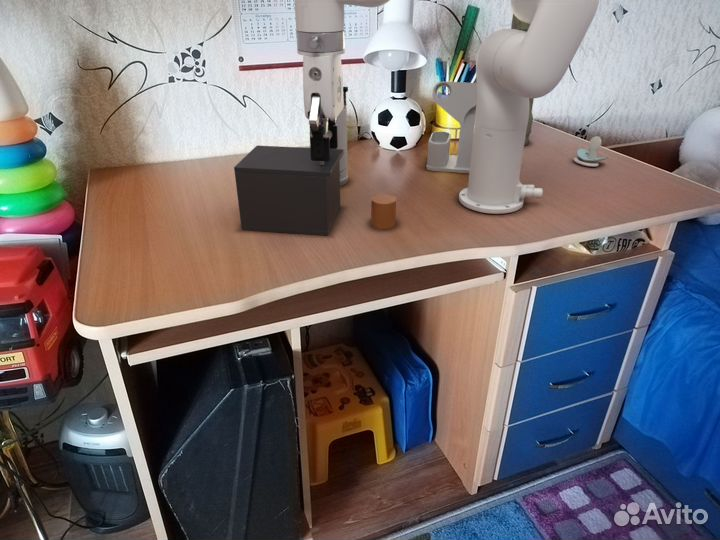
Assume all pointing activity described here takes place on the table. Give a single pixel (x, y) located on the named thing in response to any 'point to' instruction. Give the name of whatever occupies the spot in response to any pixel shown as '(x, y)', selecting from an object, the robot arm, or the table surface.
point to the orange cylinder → (383, 211)
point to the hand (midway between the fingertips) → (324, 153)
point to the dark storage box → (288, 202)
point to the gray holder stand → (464, 112)
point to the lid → (288, 161)
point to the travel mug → (342, 140)
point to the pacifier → (590, 153)
